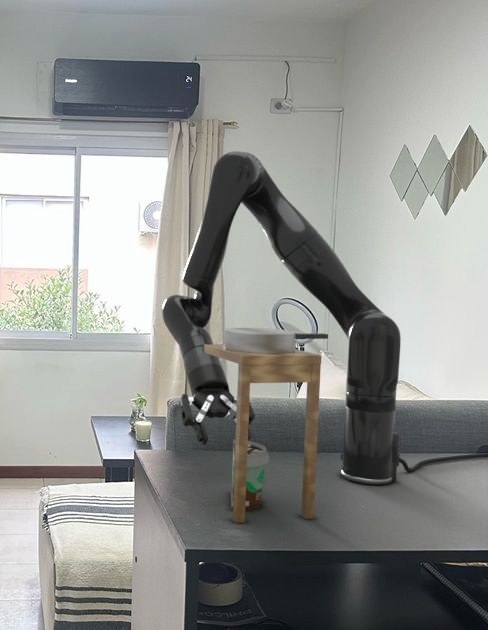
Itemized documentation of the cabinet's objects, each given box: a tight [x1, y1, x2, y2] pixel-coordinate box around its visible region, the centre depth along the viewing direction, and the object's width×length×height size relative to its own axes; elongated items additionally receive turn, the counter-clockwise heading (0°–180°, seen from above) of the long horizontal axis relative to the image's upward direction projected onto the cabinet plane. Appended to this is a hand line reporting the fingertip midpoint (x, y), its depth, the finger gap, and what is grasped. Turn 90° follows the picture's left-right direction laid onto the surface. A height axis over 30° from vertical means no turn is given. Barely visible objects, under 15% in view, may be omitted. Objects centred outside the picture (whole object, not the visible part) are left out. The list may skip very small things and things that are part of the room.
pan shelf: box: [204, 327, 329, 524], centre depth 130 cm, size 20×16×31 cm
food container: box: [230, 438, 270, 511], centre depth 132 cm, size 12×6×10 cm, turn 168°
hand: (226, 442), depth 142 cm, fingers open, 8 cm apart
